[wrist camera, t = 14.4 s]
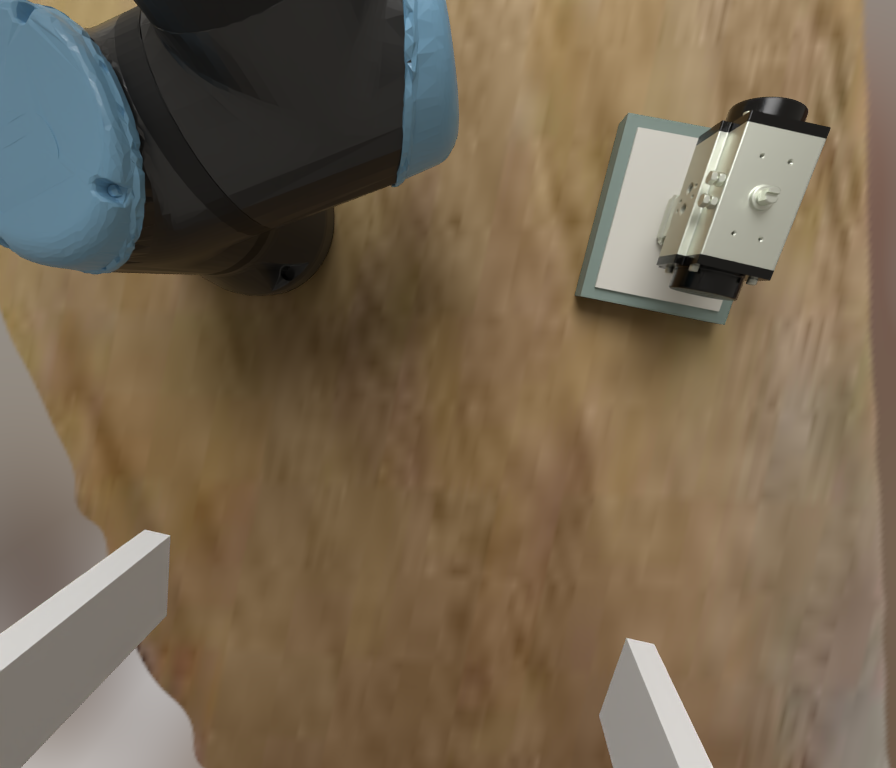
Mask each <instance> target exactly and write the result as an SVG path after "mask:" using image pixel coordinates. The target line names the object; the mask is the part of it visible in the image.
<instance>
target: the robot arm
mask: <svg viewBox="0 0 896 768" xmlns="http://www.w3.org/2000/svg"><path fill="white" fill-rule="evenodd" d="M134 1H135V3H136V4H137V5H138V6H137V7H135V8H133V9H131V10H129V11H127V12H124V13H122V14H120V15H118V16H116V17H113V18H111V19H109V20H107V21H105V22H103V23H101V24H99V25H97V26H95V27H92V28H82V27H81V26H80V25H78V24H77V23H76V22H74V21H73V20H71V19H70V18H69V17H68V16H67V15H65V14H64V13H62V12H60V11H59V10H57V9H55V8H53V7H49V6H44V5H40V4H34V3H32V2H29V1H27V0H0V245H2V246H4V247H6V248H9V249H11V250H12V251H13V252H15V253H17V254H18V255H19V256H20V257H22V258H24V259H27V260H29V261H32V262H35V263H38V264H41V265H45V266H50V267H57V268H65V269H72V270H77V271H82V272H84V273H91V274H101V273H111V272H121V273H155V274H188V275H200V276H202V277H204V278H205V279H207V280H209V281H211V282H212V283H214V284H216V285H217V286H219V287H221V288H224V289H226V290H229V291H232V292H235V293H239V294H244V295H256V296H259V295H275V294H280V293H284V292H287V291H290V290H292V289H294V288H296V287H298V286H300V285H301V284H303V283H304V282H305V281H307V280H308V279H309V278H310V277H311V276H312V275H313V274H314V273H315V272H316V271H317V270H318V268H319V267H320V265H321V264H322V262H323V261H324V259H325V257H326V255H327V253H328V250H329V247H330V244H331V241H332V236H333V229H334V210H333V207H334V206H337V205H340V204H342V203H345V202H348V201H350V200H353V199H356V198H358V197H361V196H363V195H366V194H369V193H371V192H374V191H377V190H379V189H382V188H385V187H387V186H390V185H391V187H397V186H399V185H400V184H401V183H403V182H404V180H405V179H407V178H409V177H411V176H413V175H416V174H418V173H420V172H423V171H425V170H427V169H429V168H432V167H434V166H436V165H438V164H440V163H441V162H443V161H444V160H445V159H446V158H447V157H448V156H449V154H450V152H451V150H452V149H453V147H454V145H455V142H456V139H457V135H458V127H459V103H458V88H457V77H456V67H455V59H454V51H453V43H452V36H451V29H450V23H449V17H448V11H447V5H446V1H445V0H134ZM169 554H170V535H166V534H162V533H157V532H153V531H148V530H144V531H142V532H141V533H139V534H138V535H137V536H135V537H134V538H133V539H131V540H130V541H128V542H127V543H126V544H124V545H123V546H121V547H120V548H119V549H117V550H116V551H114V552H113V553H112V554H110V555H109V556H108V557H106V558H105V559H103V560H102V561H101V562H99V563H98V564H96V565H95V566H94V567H92V568H91V569H90V570H88V571H87V572H85V573H84V574H83V575H81V576H80V577H78V578H77V579H76V580H74V581H73V582H72V583H70V584H69V585H68V586H66V587H65V588H63V589H62V590H60V591H59V592H58V593H56V594H55V595H53V596H52V597H51V598H49V599H48V600H47V601H45V602H44V603H43V604H41V605H40V606H39V607H37V608H36V609H34V610H33V611H31V612H30V613H29V614H27V615H26V616H24V617H23V618H22V619H20V620H19V621H17V622H16V623H15V624H13V625H12V626H11V627H9V628H8V629H7V630H5V631H4V632H2V633H1V634H0V768H21V767H22V766H23V765H24V764H25V763H26V761H28V759H29V758H30V757H31V756H32V755H33V754H34V753H35V752H36V751H37V750H38V749H39V748H40V747H41V746H42V745H43V744H44V743H45V742H46V740H48V738H50V736H51V735H52V734H53V733H54V732H55V731H56V730H57V729H58V728H59V727H60V726H61V725H62V724H63V723H64V722H65V721H66V720H67V719H68V718H69V717H70V716H71V714H73V713H74V711H75V710H76V709H77V708H78V707H79V706H80V705H81V704H82V703H83V702H84V701H85V700H86V699H87V698H88V697H89V696H90V695H91V694H92V692H94V691H95V690H96V688H97V687H98V686H99V685H100V684H101V683H102V682H103V681H104V680H105V679H106V678H107V677H108V676H109V675H110V674H111V673H112V672H113V671H114V670H115V669H116V667H118V666H119V665H120V664H121V662H122V661H123V660H124V659H125V658H126V657H127V656H128V655H129V654H130V653H131V652H132V651H133V650H134V649H135V648H136V647H137V646H138V645H139V644H140V643H141V642H142V641H143V640H144V639H145V637H146V636H147V635H148V634H149V633H150V632H151V631H152V630H153V629H154V628H155V627H156V626H157V625H158V624H159V623H160V622H161V621H162V620H163V619H164V618H165V617H166V616H167V596H168V575H169ZM599 717H600V721H601V724H602V728H603V732H604V735H605V739H606V743H607V746H608V750H609V754H610V757H611V761H612V765H613V768H713V766H712V764H711V762H710V760H709V758H708V756H707V754H706V752H705V750H704V748H703V746H702V743H701V741H700V739H699V737H698V735H697V733H696V731H695V729H694V727H693V725H692V723H691V720H690V718H689V716H688V714H687V712H686V710H685V708H684V706H683V704H682V702H681V700H680V697H679V695H678V693H677V691H676V689H675V687H674V685H673V683H672V681H671V679H670V677H669V674H668V672H667V670H666V668H665V666H664V664H663V662H662V660H661V658H660V656H659V654H658V651H657V649H656V647H655V645H654V644H651V643H646V642H642V641H638V640H633V639H629V638H626V641H625V643H624V646H623V649H622V652H621V655H620V658H619V660H618V663H617V666H616V669H615V672H614V675H613V678H612V680H611V683H610V686H609V689H608V692H607V695H606V697H605V700H604V703H603V706H602V709H601V712H600V714H599Z"/></svg>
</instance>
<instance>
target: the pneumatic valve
mask: <svg viewBox="0 0 896 768" xmlns="http://www.w3.org/2000/svg"><path fill="white" fill-rule="evenodd" d="M807 115H808V109H807V107H806V106H805V105H804V104H802V103H801V102H799V101H796V100H793V99H789V98H782V97H760V98H753V99H749V100H745V101H742V102H740V103H738V104H736V105H734V106H733V107H732V108H731V109H730V110H729V112H728V115H727V118H726V121H721V122H720V123H718V124H717V125H715V126H714V127H712V128H711V129H709V130H708V131H707V132H705V133H704V134H702V135H701V136H699V138H698V141H697V144H696V147H695V150H694V153H693V156H692V159H691V162H690V165H689V168H688V171H687V174H686V177H685V180H684V183H683V186H682V189H681V192H680V195H673V197H672V198H670V199H669V201H668V204H667V207H666V210H665V213H664V216H663V220H662V223H661V226H660V229H659V232H658V235H657V238H658V239H659V240H658V243H659V245H663V246H662V249H661V252H660V255H659V258H658V261H657V264H656V265H658V266H659V268H663V269H665V272H666V273H671V274H672V273H673V275H672V278H671V281H670V284H669V288H671V289H673V290H676V291H680V292H684V293H688V294H692V295H697V296H702V297H707V298H713V299H719V300H727V301H735V300H737V298H738V295H739V293H740V290H741V288H742V285H743V282H744V281H747V282H746V284H748V285H756V283H757V281H770V279H771V277H772V274H773V272H774V269H775V267H776V264H777V262H778V259H779V257H780V254H781V252H782V249H783V247H784V244H785V241H786V239H787V236H788V234H789V231H790V229H791V226H792V224H793V221H794V219H795V216H796V214H797V211H798V209H799V206H800V204H801V201H802V199H803V196H804V194H805V191H806V189H807V186H808V184H809V181H810V179H811V176H812V174H813V171H814V169H815V166H816V163H817V161H818V158H819V156H820V153H821V151H822V148H823V146H824V143H825V141H826V138H827V136H828V133H829V131H830V127H826V126H821V125H817V124H812V123H808V122H805V121H806V118H807ZM673 271H674V272H673Z"/></svg>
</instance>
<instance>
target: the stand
mask: <svg viewBox="0 0 896 768" xmlns="http://www.w3.org/2000/svg"><path fill="white" fill-rule="evenodd" d="M709 129H711V128H708V127H703V126H697V125H692V124H687V123H681V122H676V121H670V120H665V119H660V118H654V117H649V116H643V115H638V114H633V113H628V114H627V115H626V116H625V118H624V119H623V120H622V121H621V122H620V124H619V126H618V130H617V134H616V138H615V142H614V146H613V150H612V153H611V157H610V161H609V165H608V169H607V173H606V177H605V180H604V184H603V188H602V192H601V196H600V200H599V204H598V207H597V211H596V215H595V219H594V223H593V227H592V231H591V234H590V238H589V242H588V246H587V250H586V254H585V258H584V261H583V265H582V269H581V273H580V277H579V281H578V285H577V288H576V292H575V295H576V296H581V297H586V298H591V299H596V300H601V301H606V302H611V303H616V304H621V305H626V306H631V307H636V308H641V309H646V310H651V311H656V312H661V313H666V314H671V315H676V316H681V317H686V318H691V319H696V320H701V321H706V322H711V323H717V324H723V325H725V322H726V319H727V317H728V314H729V311H730V308H731V305H732V302H733V301H727V300H719V299H713V298H707V297H702V296H697V295H692V294H688V293H684V292H680V291H676V290H673V289H671V288H669V284H670V281H671V278H672V275H673V273H672V274H671V273H666V272H665V269H663V268H659V266H658V265H656V264H657V261H658V258H659V255H660V252H661V249H662V246H663V245H659V243H658V240H659V239H658V238H657V235H658V232H659V229H660V226H661V223H662V220H663V216H664V213H665V210H666V207H667V204H668V201H669V199H670V198H672V197H673V195H680V192H681V189H682V186H683V183H684V180H685V177H686V174H687V171H688V168H689V165H690V162H691V159H692V156H693V153H694V150H695V147H696V144H697V141H698V138H699V136H701V135H702V134H704V133H705V132H707V131H708V130H709ZM673 272H674V271H673Z"/></svg>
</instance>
